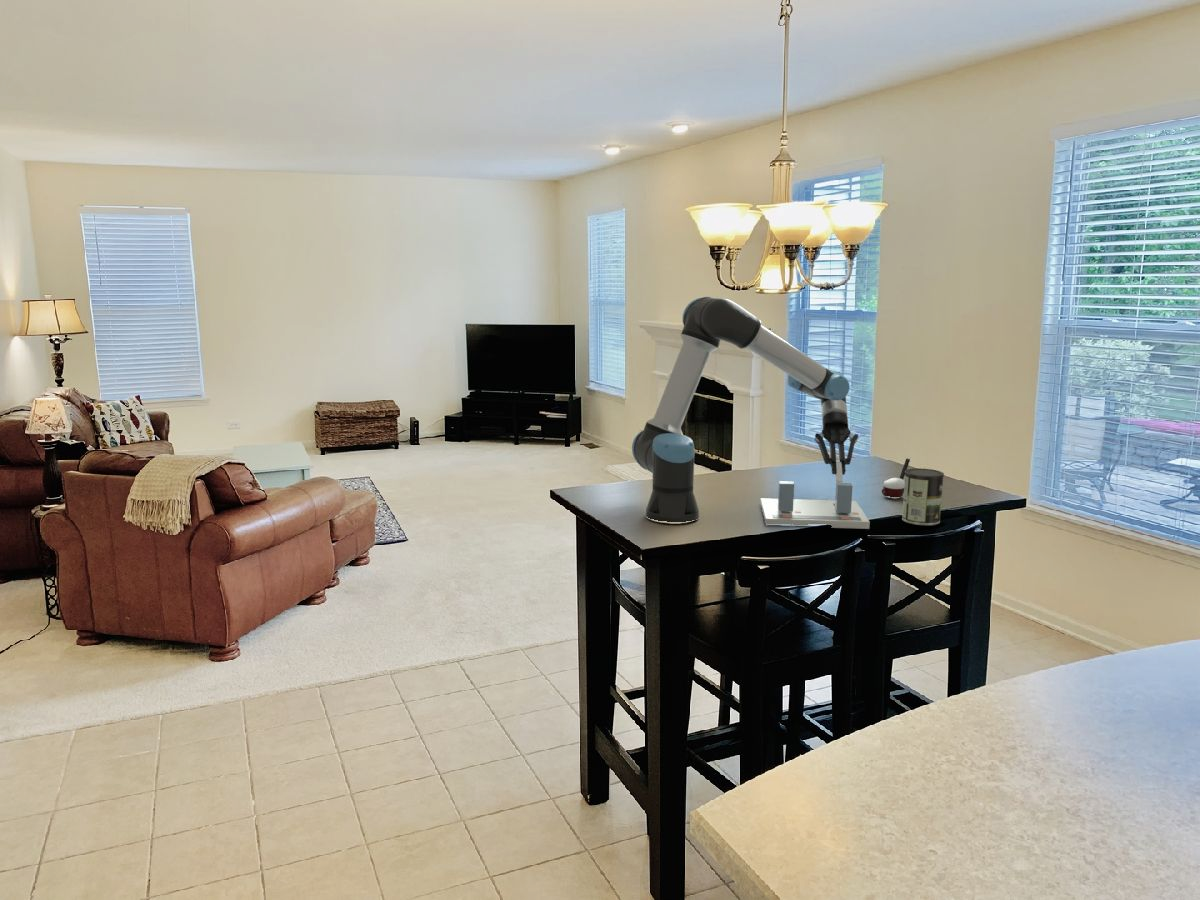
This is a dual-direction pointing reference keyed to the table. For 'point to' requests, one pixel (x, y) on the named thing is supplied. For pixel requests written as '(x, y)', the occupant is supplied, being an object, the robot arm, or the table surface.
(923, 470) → the coffee can
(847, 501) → the right switch tab
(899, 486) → the cocoa
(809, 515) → the switch panel
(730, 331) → the robot arm
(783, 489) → the left switch tab
